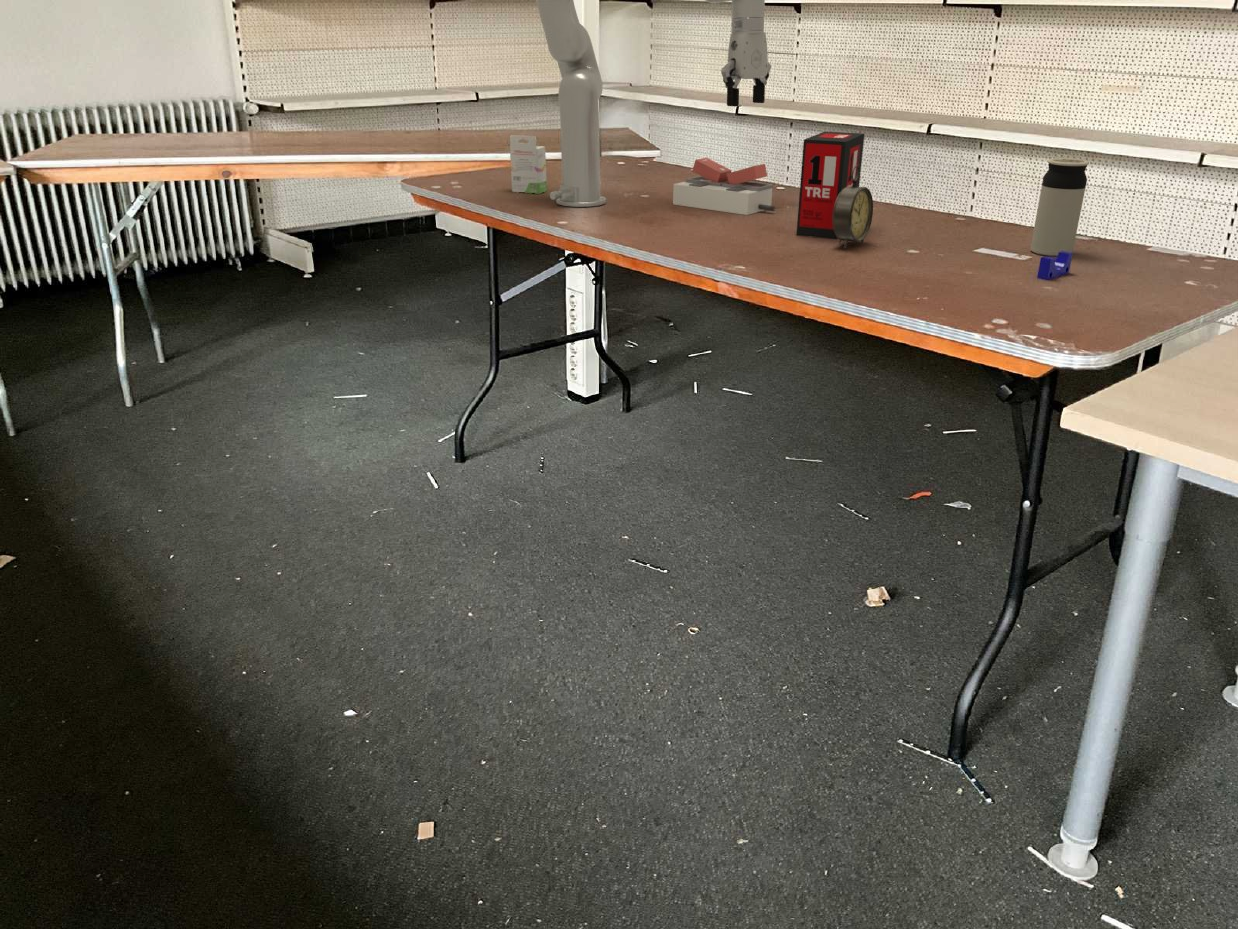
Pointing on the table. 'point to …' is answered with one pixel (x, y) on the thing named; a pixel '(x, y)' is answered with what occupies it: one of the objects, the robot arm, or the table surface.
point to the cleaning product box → (826, 179)
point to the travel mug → (1059, 206)
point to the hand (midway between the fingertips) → (745, 104)
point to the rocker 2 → (747, 174)
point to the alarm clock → (853, 213)
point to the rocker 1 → (711, 170)
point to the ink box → (527, 165)
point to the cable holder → (1054, 266)
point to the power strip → (724, 196)
